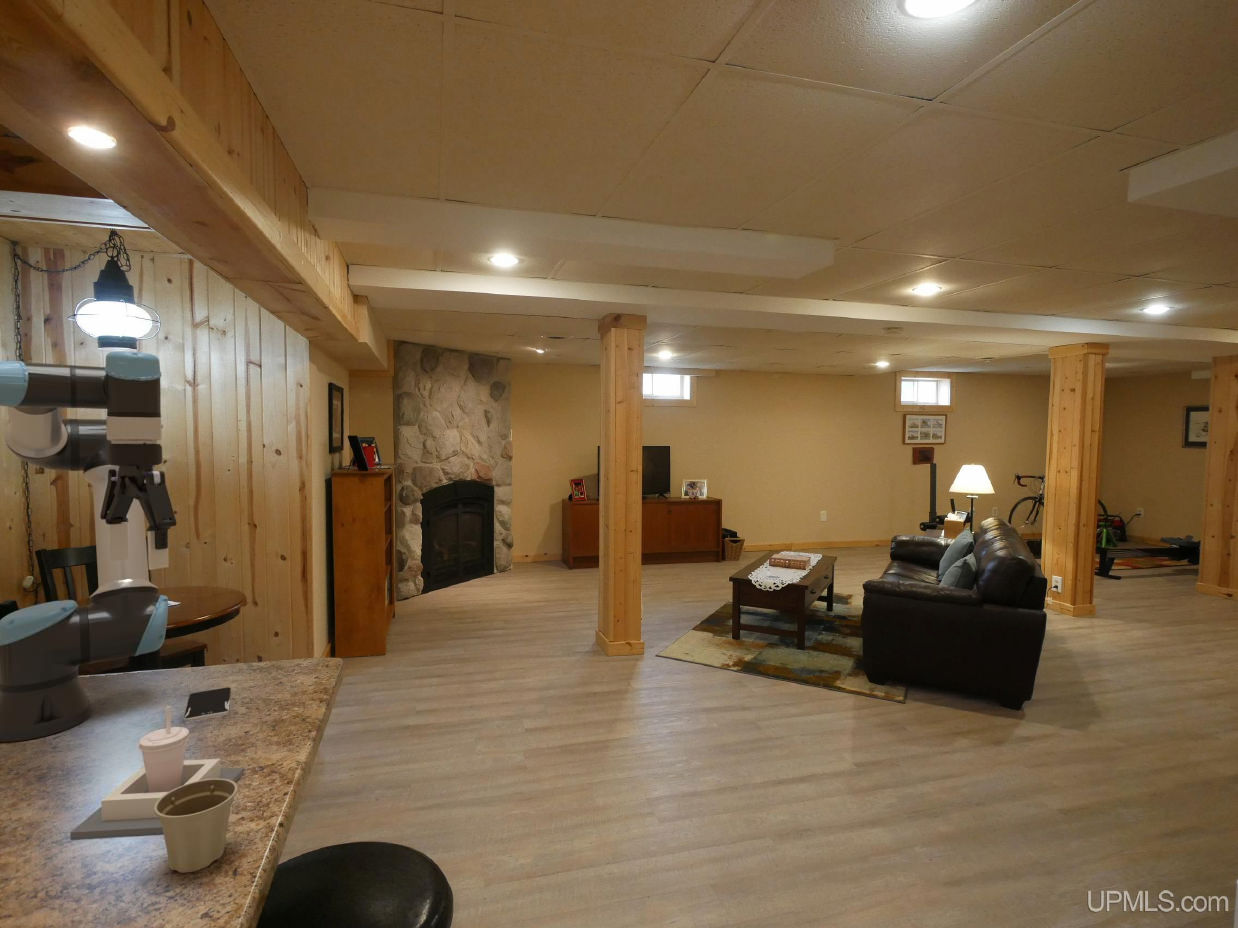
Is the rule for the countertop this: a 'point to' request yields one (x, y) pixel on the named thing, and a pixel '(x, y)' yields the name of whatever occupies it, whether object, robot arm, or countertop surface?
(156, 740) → the smoothie
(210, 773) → the socket
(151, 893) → the countertop surface
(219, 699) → the smartphone
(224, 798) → the flower pot
